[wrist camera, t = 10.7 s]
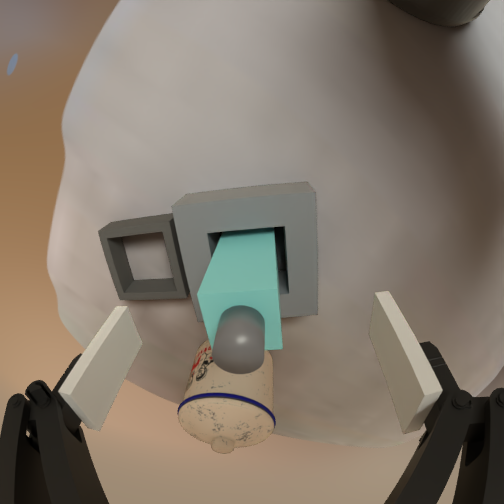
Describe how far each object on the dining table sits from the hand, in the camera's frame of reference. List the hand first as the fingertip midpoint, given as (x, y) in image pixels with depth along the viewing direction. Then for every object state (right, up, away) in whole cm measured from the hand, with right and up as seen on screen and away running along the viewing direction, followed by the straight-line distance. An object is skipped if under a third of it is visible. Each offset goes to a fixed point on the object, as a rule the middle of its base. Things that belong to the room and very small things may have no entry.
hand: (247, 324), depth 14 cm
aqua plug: (0, +4, +10) cm, 11 cm away
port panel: (0, +4, +10) cm, 11 cm away
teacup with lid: (-2, -10, +17) cm, 20 cm away
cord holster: (-9, +4, +11) cm, 15 cm away
